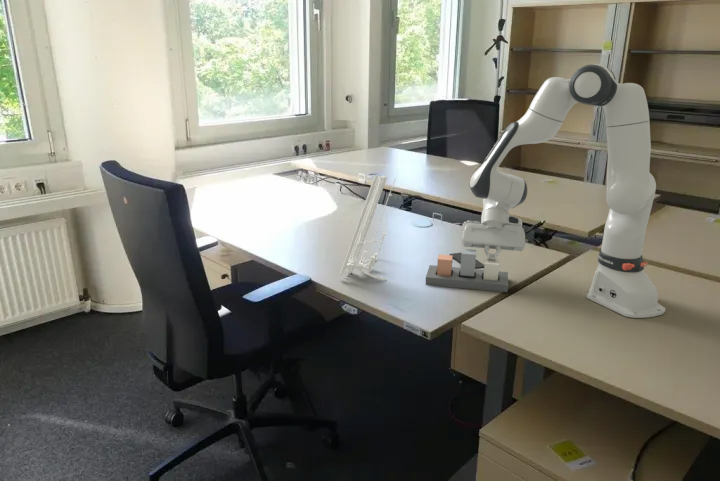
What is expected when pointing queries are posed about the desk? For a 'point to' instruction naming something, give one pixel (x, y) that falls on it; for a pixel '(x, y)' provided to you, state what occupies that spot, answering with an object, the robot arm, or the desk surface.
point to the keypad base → (467, 280)
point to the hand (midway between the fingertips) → (491, 259)
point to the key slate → (468, 262)
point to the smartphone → (458, 258)
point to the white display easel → (365, 231)
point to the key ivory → (491, 270)
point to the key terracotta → (444, 265)
